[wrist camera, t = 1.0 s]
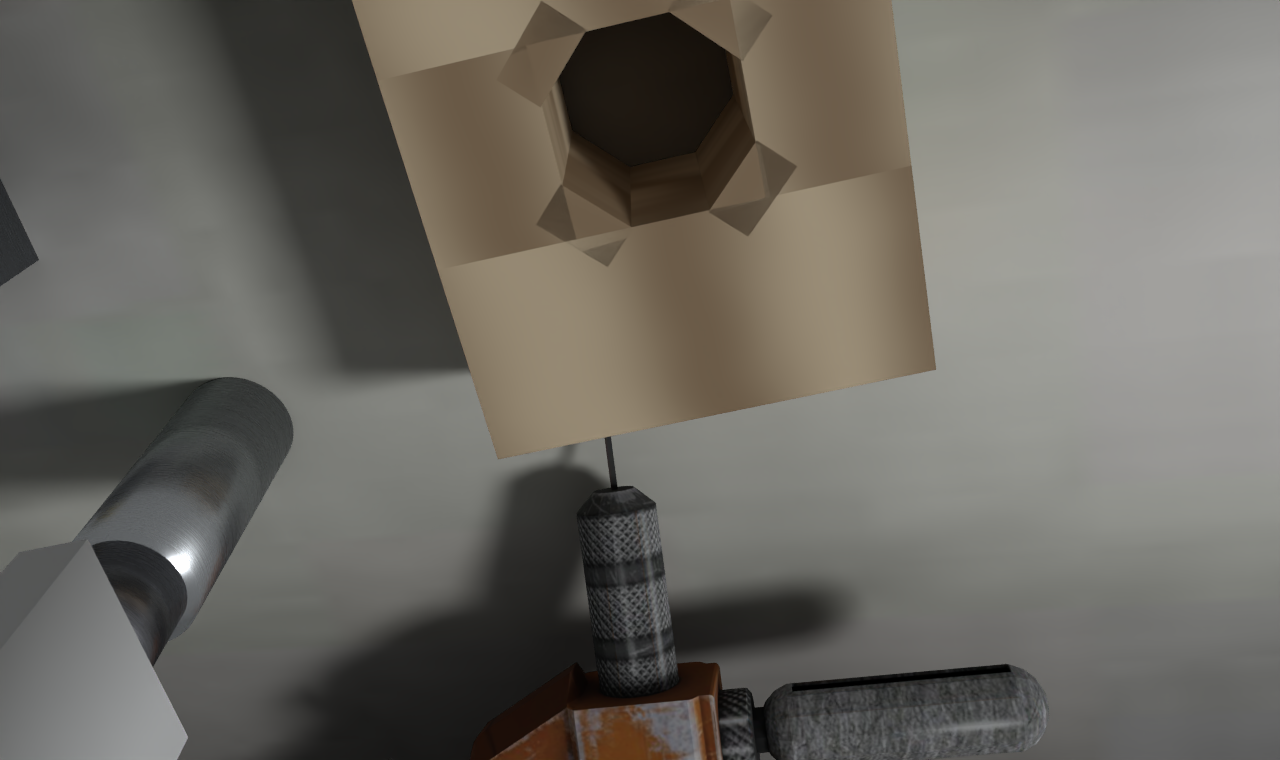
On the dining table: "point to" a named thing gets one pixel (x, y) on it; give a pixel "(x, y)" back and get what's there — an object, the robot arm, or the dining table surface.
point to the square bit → (12, 241)
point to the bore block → (659, 214)
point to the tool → (726, 719)
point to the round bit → (188, 505)
